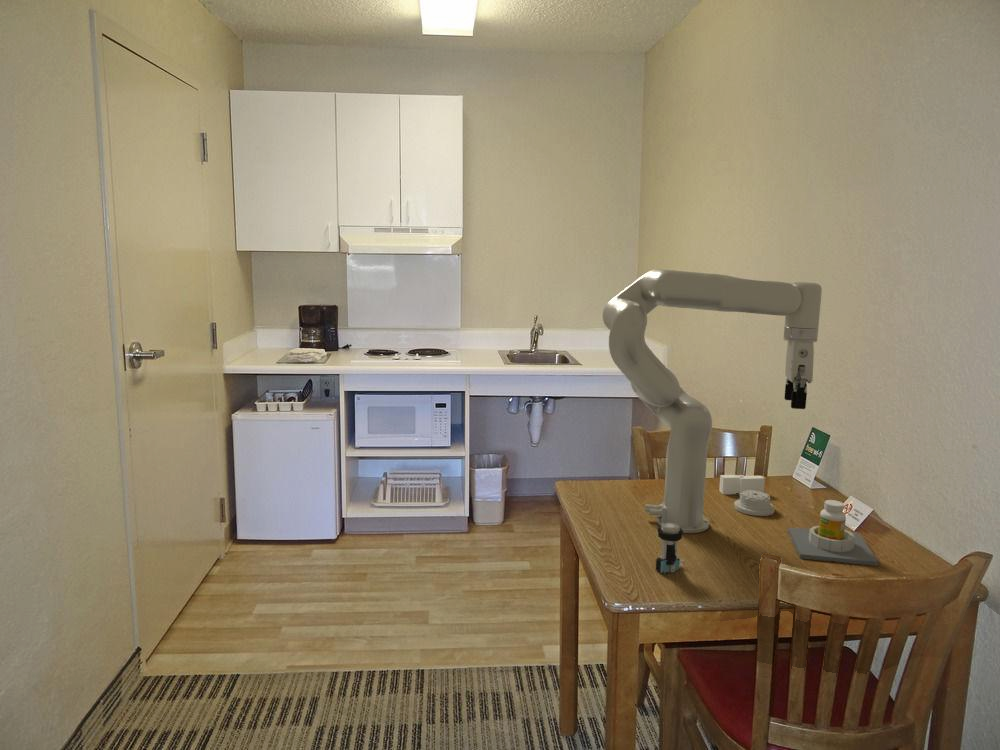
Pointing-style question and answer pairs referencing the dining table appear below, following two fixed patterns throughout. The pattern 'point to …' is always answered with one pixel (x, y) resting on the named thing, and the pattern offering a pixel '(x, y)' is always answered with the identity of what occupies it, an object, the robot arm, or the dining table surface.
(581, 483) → the dining table surface
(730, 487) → the napkin holder
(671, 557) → the push button
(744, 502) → the mechanical component
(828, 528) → the supplement bottle
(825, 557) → the ring plate
